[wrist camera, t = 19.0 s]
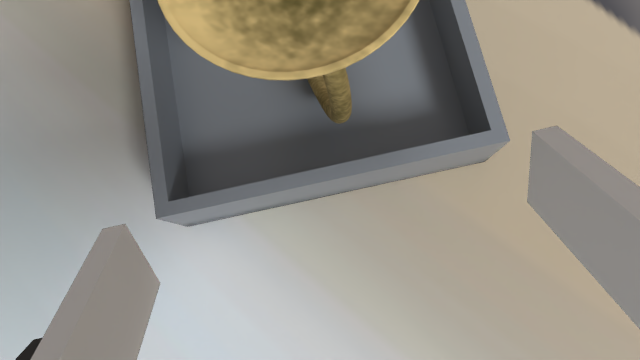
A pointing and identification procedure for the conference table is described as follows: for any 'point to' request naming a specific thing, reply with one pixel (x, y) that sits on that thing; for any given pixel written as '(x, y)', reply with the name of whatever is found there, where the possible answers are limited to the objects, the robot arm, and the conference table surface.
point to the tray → (311, 119)
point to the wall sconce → (290, 39)
